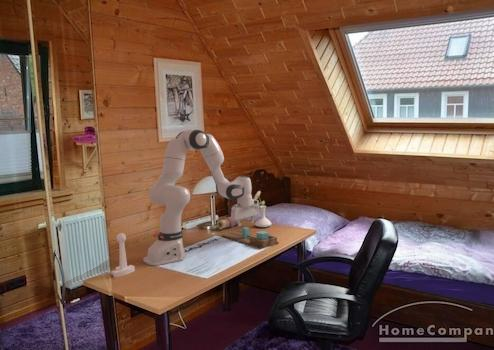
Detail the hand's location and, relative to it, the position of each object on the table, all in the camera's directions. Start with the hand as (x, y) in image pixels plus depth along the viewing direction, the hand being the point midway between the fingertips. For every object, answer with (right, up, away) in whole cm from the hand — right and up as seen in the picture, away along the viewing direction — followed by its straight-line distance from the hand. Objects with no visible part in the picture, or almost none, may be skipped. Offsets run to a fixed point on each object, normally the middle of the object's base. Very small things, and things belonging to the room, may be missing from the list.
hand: (245, 224), depth 253 cm
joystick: (-60, -18, -50) cm, 80 cm away
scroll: (-11, -6, +29) cm, 32 cm away
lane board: (+2, -9, -2) cm, 9 cm away
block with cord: (+5, -9, -5) cm, 11 cm away
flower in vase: (+11, -5, +29) cm, 31 cm away
